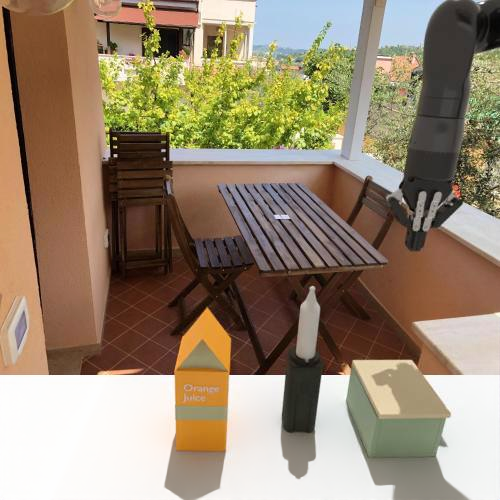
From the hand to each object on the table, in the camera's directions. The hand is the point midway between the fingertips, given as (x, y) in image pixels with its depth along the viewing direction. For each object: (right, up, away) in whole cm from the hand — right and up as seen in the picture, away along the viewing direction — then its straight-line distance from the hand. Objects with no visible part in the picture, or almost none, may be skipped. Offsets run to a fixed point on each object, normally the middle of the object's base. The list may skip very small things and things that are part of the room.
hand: (413, 249), depth 73 cm
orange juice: (-35, -29, -4) cm, 46 cm away
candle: (-20, -29, -2) cm, 35 cm away
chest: (-5, -29, -2) cm, 30 cm away
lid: (-5, -22, -5) cm, 23 cm away
